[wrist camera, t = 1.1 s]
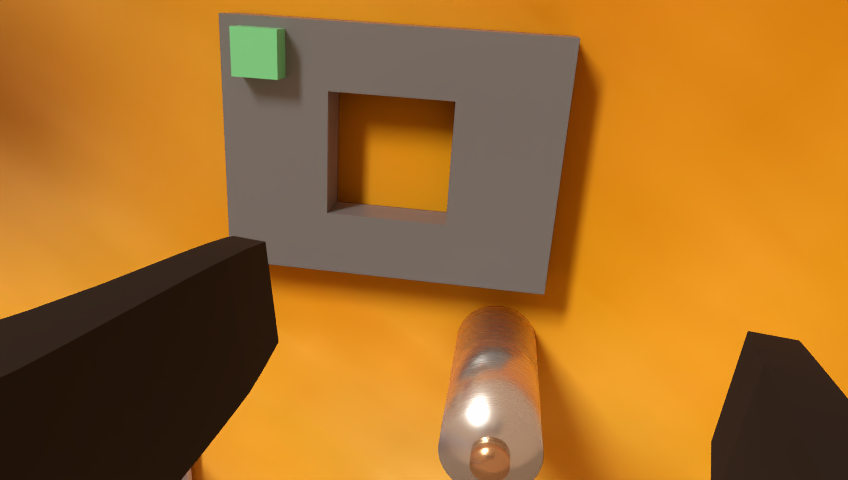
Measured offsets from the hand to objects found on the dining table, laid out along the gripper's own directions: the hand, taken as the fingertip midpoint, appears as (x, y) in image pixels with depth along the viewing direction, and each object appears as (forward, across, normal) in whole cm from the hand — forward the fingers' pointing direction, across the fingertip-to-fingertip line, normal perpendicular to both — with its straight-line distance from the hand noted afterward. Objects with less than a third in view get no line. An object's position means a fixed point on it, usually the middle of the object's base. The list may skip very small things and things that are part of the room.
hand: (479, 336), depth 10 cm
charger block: (+13, +6, +3) cm, 15 cm away
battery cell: (+13, +2, +10) cm, 17 cm away
